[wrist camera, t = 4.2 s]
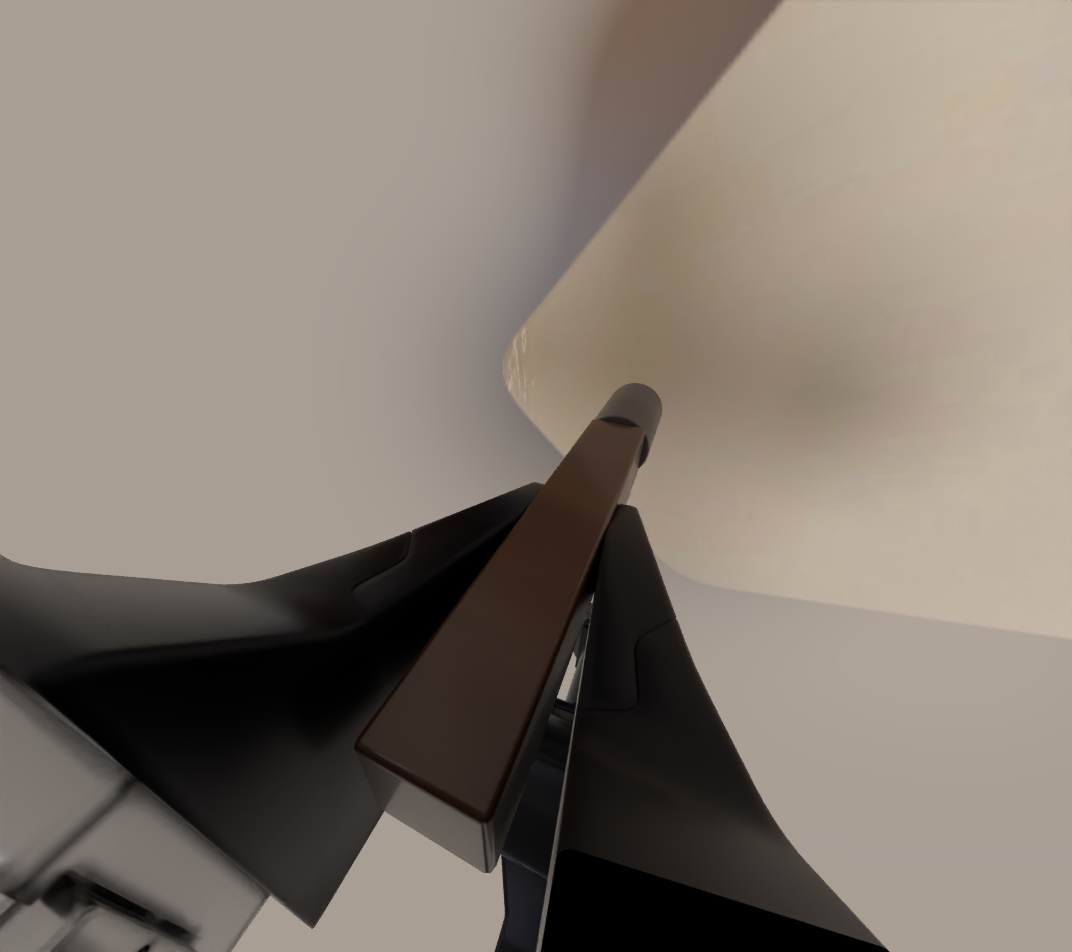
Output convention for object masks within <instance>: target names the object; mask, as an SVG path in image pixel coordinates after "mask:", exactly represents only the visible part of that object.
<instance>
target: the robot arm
mask: <svg viewBox="0 0 1072 952" xmlns="http://www.w3.org/2000/svg"><path fill="white" fill-rule="evenodd" d="M544 485H545V484H540V483H537V482H534V483H530V484H528V485H525V486H523V487H521V488H518V489H515V490H513V491H510V492H508V493H505V494H503V495H500V496H498V497H495V498H493V499H490V500H487V501H485V502H483V503H480V504H478V505H475V506H472V507H470V508H467V509H465V510H462V511H460V512H457V513H455V514H452V515H450V516H447V517H445V518H442V519H440V520H437V521H434V522H432V523H429V524H427V525H424V526H422V527H419V528H417V529H414V530H412V533H411V532H406V533H404V534H401V535H399V536H396V537H394V538H391V539H389V540H386V541H383V542H380V543H378V544H375V545H373V546H370V547H367V548H364V549H361V550H358V551H355V552H352V553H349V554H346V555H343V556H340V557H337V558H333V559H330V560H327V561H324V562H321V563H318V564H314V565H312V566H308V567H305V568H302V569H299V570H295V571H292V572H289V573H286V574H283V575H280V576H276V577H273V578H270V579H266V580H262V581H257V582H252V583H244V584H228V585H227V584H226V585H222V584H208V583H196V582H184V581H172V580H159V579H148V578H136V577H124V576H112V575H100V574H89V573H88V574H87V573H76V572H68V571H59V570H50V569H43V568H36V567H31V566H27V565H22V564H19V563H16V562H13V561H11V560H9V559H7V558H5V557H4V556H2V555H0V952H231V951H232V949H233V948H234V947H235V945H236V944H237V942H238V941H239V940H240V938H241V937H242V935H243V934H244V932H245V931H246V929H247V928H248V926H249V925H250V924H251V922H252V921H253V919H254V918H255V916H256V915H257V913H258V912H259V911H260V909H261V907H262V906H263V905H264V903H265V902H266V901H267V899H268V898H269V896H271V897H272V898H274V899H275V900H276V901H277V902H279V903H280V904H281V905H282V906H284V907H285V908H286V909H287V910H289V911H290V912H291V913H292V914H294V915H295V916H296V917H298V918H299V919H300V920H301V921H303V922H304V923H305V924H306V925H308V926H309V927H310V928H311V929H313V928H314V927H315V925H316V924H317V922H318V921H319V919H320V918H321V916H322V914H323V913H324V911H325V910H326V908H327V906H328V904H329V903H330V901H331V900H332V898H333V896H334V894H335V893H336V891H337V889H338V888H339V886H340V884H341V883H342V881H343V879H344V878H345V876H346V874H347V873H348V871H349V869H350V868H351V866H352V864H353V863H354V861H355V859H356V858H357V856H358V854H359V852H360V851H361V849H362V848H363V846H364V844H365V843H366V841H367V839H368V838H369V836H370V834H371V832H372V831H373V829H374V827H375V826H376V824H377V822H378V821H379V819H380V817H381V816H382V814H383V812H384V810H382V809H381V808H380V806H379V804H378V802H377V800H376V797H375V795H374V793H373V791H372V788H371V786H370V784H369V782H368V779H367V777H366V775H365V772H364V770H363V768H362V766H361V763H360V761H359V759H358V757H357V754H356V752H355V750H354V745H355V742H356V740H357V738H358V736H359V735H360V734H361V732H362V731H363V730H364V728H365V727H366V726H367V724H368V723H369V722H370V720H371V719H372V718H373V716H374V715H375V713H376V712H377V711H378V709H379V708H380V707H381V705H382V704H383V703H384V701H385V700H386V699H387V697H388V696H389V695H390V693H391V692H392V690H393V689H394V688H395V686H396V685H397V684H398V682H399V681H400V680H401V678H402V677H403V676H404V674H405V673H406V672H407V670H408V669H409V667H410V666H411V665H412V663H413V662H414V661H415V659H416V658H417V657H418V655H419V654H420V653H421V651H422V650H423V649H424V647H425V646H426V645H427V643H428V642H429V640H430V639H431V638H432V636H433V635H434V634H435V632H436V631H437V630H438V628H439V627H440V626H441V624H442V623H443V622H444V620H445V619H446V617H447V616H448V615H449V613H450V612H451V611H452V609H453V608H454V607H455V605H456V604H457V603H458V601H459V600H460V599H461V597H462V596H463V594H464V593H465V592H466V590H467V589H468V588H469V586H470V585H471V584H472V582H473V581H474V580H475V578H476V577H477V576H478V574H479V573H480V571H481V570H482V569H483V567H484V566H485V565H486V563H487V562H488V561H489V559H490V558H491V557H492V555H493V554H494V553H495V551H496V550H497V548H498V547H499V546H500V544H501V543H502V542H503V540H504V539H505V538H506V536H507V535H508V534H509V532H510V531H511V530H512V528H513V527H514V526H515V524H516V523H517V521H518V520H519V519H520V517H521V516H522V515H523V513H524V512H525V511H526V509H527V508H528V507H529V505H530V504H531V503H532V501H533V500H534V498H535V497H536V496H537V494H538V493H539V492H540V490H541V489H542V488H543V486H544ZM575 667H576V671H575V674H574V677H573V680H572V683H571V686H570V689H569V692H568V695H567V698H566V701H564V700H561V699H559V698H556V701H555V703H554V706H553V709H552V712H551V714H550V717H549V720H548V723H547V726H546V728H545V731H544V734H543V737H542V739H541V742H540V745H539V748H538V751H537V753H536V756H535V759H534V762H533V765H532V767H531V770H530V773H529V776H528V778H527V781H526V784H525V787H524V790H523V792H522V795H521V798H520V801H519V804H518V806H517V809H516V812H515V815H514V817H513V820H512V823H511V826H510V829H509V831H508V834H507V837H506V840H505V843H504V845H503V848H502V851H501V854H500V855H501V859H502V874H503V889H504V905H505V918H504V921H503V925H502V929H501V932H500V935H499V939H498V942H497V946H496V949H495V952H889V951H888V950H887V949H886V947H885V946H884V945H883V944H882V943H881V942H880V941H879V940H878V939H877V938H876V937H875V936H874V935H873V933H872V932H871V931H870V930H869V929H868V928H867V927H866V926H865V925H864V924H863V923H862V922H861V921H860V919H859V918H858V917H857V916H856V915H855V914H854V913H853V912H852V911H851V910H850V909H849V908H848V906H847V905H846V904H845V903H844V902H843V901H842V900H841V899H840V898H839V897H838V896H837V895H836V893H835V892H834V891H833V890H832V889H831V888H830V887H829V886H828V885H827V884H826V883H825V882H824V880H822V878H821V877H820V876H819V875H818V874H817V873H816V872H815V871H814V870H813V869H812V868H811V867H810V865H809V864H808V863H807V862H806V861H805V860H804V859H803V858H802V856H801V855H800V854H799V853H798V852H797V850H796V849H795V848H794V847H793V845H792V844H791V843H790V841H789V840H788V839H787V838H786V836H785V835H784V833H783V832H782V830H781V829H780V827H779V826H778V824H777V823H776V822H775V820H774V818H773V817H772V815H771V814H770V812H769V810H768V809H767V807H766V805H765V804H764V802H763V800H762V798H761V797H760V794H759V793H758V791H757V789H756V787H755V785H754V783H753V781H752V779H751V777H750V775H749V773H748V771H747V769H746V767H745V766H744V763H743V761H742V759H741V757H740V756H739V753H738V751H737V749H736V748H735V746H734V744H733V742H732V740H731V738H730V736H729V734H728V732H727V730H726V728H725V726H724V724H723V722H722V720H721V718H720V716H719V714H718V712H717V710H716V708H715V706H714V704H713V702H712V700H711V698H710V696H709V694H708V692H707V690H706V688H705V686H704V684H703V681H702V680H701V677H700V675H699V673H698V671H697V669H696V667H695V665H694V662H693V660H692V657H691V655H690V652H689V650H688V647H687V645H686V642H685V640H684V637H683V634H682V631H681V629H680V626H679V623H678V621H677V620H676V616H675V613H674V610H673V607H672V605H671V601H670V599H669V596H668V593H667V590H666V587H665V585H664V582H663V579H662V576H661V574H660V571H659V568H658V565H657V562H656V560H655V557H654V554H653V551H652V548H651V546H650V543H649V540H648V537H647V534H646V532H645V529H644V526H643V523H642V520H641V518H640V515H639V512H638V510H637V508H636V507H633V506H629V505H624V504H619V505H618V506H617V509H616V511H615V513H614V515H613V517H612V519H611V521H610V524H609V525H608V527H607V530H606V532H605V535H604V540H603V546H602V552H601V558H600V563H599V569H598V575H597V581H596V587H595V593H594V599H593V604H592V610H591V617H590V619H589V618H586V619H585V620H584V623H583V625H582V628H581V634H580V640H579V647H578V653H577V659H576V665H575Z"/></svg>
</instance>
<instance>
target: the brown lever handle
mask: <svg viewBox="0 0 1072 952" xmlns="http://www.w3.org/2000/svg"><path fill="white" fill-rule="evenodd" d="M661 415H662V403H661V400H660V398H659V396H658V394H657V393H656V392H655V391H654V390H653V389H651V388H650V387H648V386H646V385H643V384H638V383H631V384H627V385H624V386H622V387H620V388H619V389H617V390H616V391H615V392H614V393H613V395H612V396H611V398H610V399H609V400H608V402H607V403H606V404H605V406H604V407H603V409H602V410H601V411H600V413H599V414H598V415H597V417H596V418H595V419H594V420H592V421H591V423H590V424H589V425H588V427H587V428H586V430H585V431H584V432H583V434H582V435H581V436H580V438H579V439H578V440H577V442H576V443H575V444H574V446H573V447H572V448H571V450H570V451H569V452H568V454H567V455H566V457H565V458H564V459H563V461H562V462H561V463H560V465H559V466H558V467H557V469H556V470H555V471H554V473H553V474H552V475H551V477H550V478H549V480H548V481H547V482H546V484H545V485H544V486H543V488H542V489H541V490H540V492H539V493H538V494H537V496H536V497H535V498H534V500H533V501H532V503H531V504H530V505H529V507H528V508H527V509H526V511H525V512H524V513H523V515H522V516H521V517H520V519H519V520H518V521H517V523H516V524H515V526H514V527H513V528H512V530H511V531H510V532H509V534H508V535H507V536H506V538H505V539H504V540H503V542H502V543H501V544H500V546H499V547H498V548H497V550H496V551H495V553H494V554H493V555H492V557H491V558H490V559H489V561H488V562H487V563H486V565H485V566H484V567H483V569H482V570H481V571H480V573H479V574H478V576H477V577H476V578H475V580H474V581H473V582H472V584H471V585H470V586H469V588H468V589H467V590H466V592H465V593H464V594H463V596H462V597H461V599H460V600H459V601H458V603H457V604H456V605H455V607H454V608H453V609H452V611H451V612H450V613H449V615H448V616H447V617H446V619H445V620H444V622H443V623H442V624H441V626H440V627H439V628H438V630H437V631H436V632H435V634H434V635H433V636H432V638H431V639H430V640H429V642H428V643H427V645H426V646H425V647H424V649H423V650H422V651H421V653H420V654H419V655H418V657H417V658H416V659H415V661H414V662H413V663H412V665H411V666H410V667H409V669H408V670H407V672H406V673H405V674H404V676H403V677H402V678H401V680H400V681H399V682H398V684H397V685H396V686H395V688H394V689H393V690H392V692H391V693H390V695H389V696H388V697H387V699H386V700H385V701H384V703H383V704H382V705H381V707H380V708H379V709H378V711H377V712H376V713H375V715H374V716H373V718H372V719H371V720H370V722H369V723H368V724H367V726H366V727H365V728H364V730H363V731H362V732H361V734H360V735H359V736H358V738H357V740H356V742H355V745H354V750H355V752H356V754H357V757H358V759H359V761H360V763H361V766H362V768H363V770H364V772H365V775H366V777H367V779H368V782H369V784H370V786H371V788H372V791H373V793H374V795H375V797H376V800H377V802H378V804H379V806H380V808H381V809H382V810H384V811H385V812H387V813H388V814H390V815H392V816H393V817H395V818H396V819H398V820H400V821H401V822H403V823H404V824H406V825H408V826H409V827H411V828H413V829H414V830H416V831H417V832H419V833H421V834H422V835H424V836H425V837H427V838H429V839H430V840H432V841H434V842H435V843H437V844H438V845H440V846H442V847H443V848H445V849H446V850H448V851H450V852H451V853H453V854H454V855H456V856H458V857H459V858H461V859H463V860H464V861H466V862H468V863H469V864H471V865H472V866H474V867H476V868H477V869H479V870H480V871H482V872H483V873H491V872H492V871H493V869H494V868H495V867H496V865H497V862H498V859H499V856H500V854H501V851H502V848H503V845H504V843H505V840H506V837H507V834H508V831H509V829H510V826H511V823H512V820H513V817H514V815H515V812H516V809H517V806H518V804H519V801H520V798H521V795H522V792H523V790H524V787H525V784H526V781H527V778H528V776H529V773H530V770H531V767H532V765H533V762H534V759H535V756H536V753H537V751H538V748H539V745H540V742H541V739H542V737H543V734H544V731H545V728H546V726H547V723H548V720H549V717H550V714H551V712H552V709H553V706H554V703H555V701H556V698H557V695H558V692H559V689H560V687H561V684H562V681H563V678H564V675H565V672H566V670H567V667H568V664H569V661H570V659H571V656H572V653H573V650H574V648H575V645H576V642H577V639H578V636H579V634H580V631H581V628H582V625H583V623H584V620H585V617H586V614H587V611H588V609H589V606H590V603H591V600H592V597H593V595H594V592H595V587H596V581H597V575H598V569H599V563H600V558H601V552H602V546H603V540H604V535H605V532H606V530H607V527H608V525H609V524H610V521H611V519H612V517H613V515H614V513H615V511H616V509H617V506H618V505H619V504H624V505H626V503H627V500H628V497H629V494H630V492H631V489H632V486H633V483H634V481H635V478H636V475H637V471H638V469H639V468H640V467H641V466H642V465H643V464H644V462H645V461H646V459H647V457H648V454H649V451H650V448H651V445H652V442H653V439H654V436H655V433H656V430H657V427H658V424H659V421H660V418H661Z"/></svg>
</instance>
